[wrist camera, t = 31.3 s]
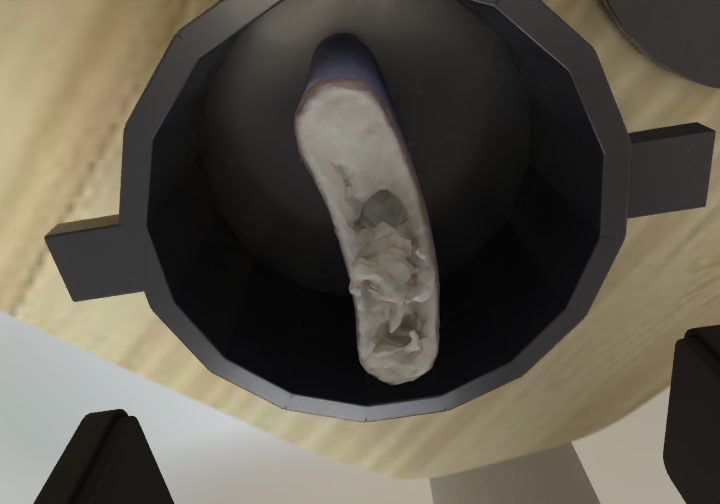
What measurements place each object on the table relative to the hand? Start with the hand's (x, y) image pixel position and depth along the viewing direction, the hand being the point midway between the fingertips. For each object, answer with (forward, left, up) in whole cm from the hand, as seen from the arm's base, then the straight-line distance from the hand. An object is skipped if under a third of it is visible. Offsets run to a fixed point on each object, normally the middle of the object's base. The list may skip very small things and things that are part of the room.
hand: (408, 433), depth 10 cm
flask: (+1, 0, -15) cm, 15 cm away
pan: (0, 0, -15) cm, 15 cm away
